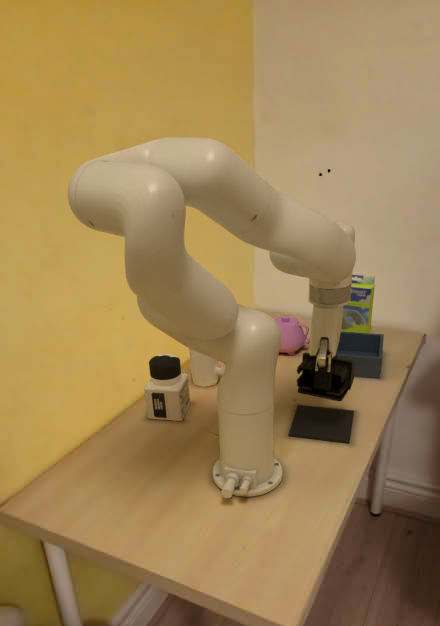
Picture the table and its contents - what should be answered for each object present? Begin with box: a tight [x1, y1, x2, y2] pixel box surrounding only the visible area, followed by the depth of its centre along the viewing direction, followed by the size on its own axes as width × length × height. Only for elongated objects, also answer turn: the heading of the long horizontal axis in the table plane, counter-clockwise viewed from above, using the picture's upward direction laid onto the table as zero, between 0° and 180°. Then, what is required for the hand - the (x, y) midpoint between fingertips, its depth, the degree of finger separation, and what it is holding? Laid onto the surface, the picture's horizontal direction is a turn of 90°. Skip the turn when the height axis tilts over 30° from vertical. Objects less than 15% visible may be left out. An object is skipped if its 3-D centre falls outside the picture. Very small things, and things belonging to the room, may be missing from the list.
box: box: [341, 273, 376, 333], centre depth 145 cm, size 10×4×17 cm, turn 64°
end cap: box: [296, 352, 355, 402], centre depth 106 cm, size 10×7×7 cm
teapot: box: [273, 314, 310, 356], centre depth 142 cm, size 10×15×9 cm
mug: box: [188, 348, 226, 388], centre depth 127 cm, size 10×7×12 cm, turn 61°
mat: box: [287, 404, 355, 445], centre depth 111 cm, size 12×12×1 cm
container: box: [143, 353, 191, 422], centre depth 115 cm, size 8×8×13 cm
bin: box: [316, 332, 385, 380], centre depth 134 cm, size 15×16×5 cm
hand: (325, 377), depth 106 cm, fingers closed on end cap, 8 cm apart
